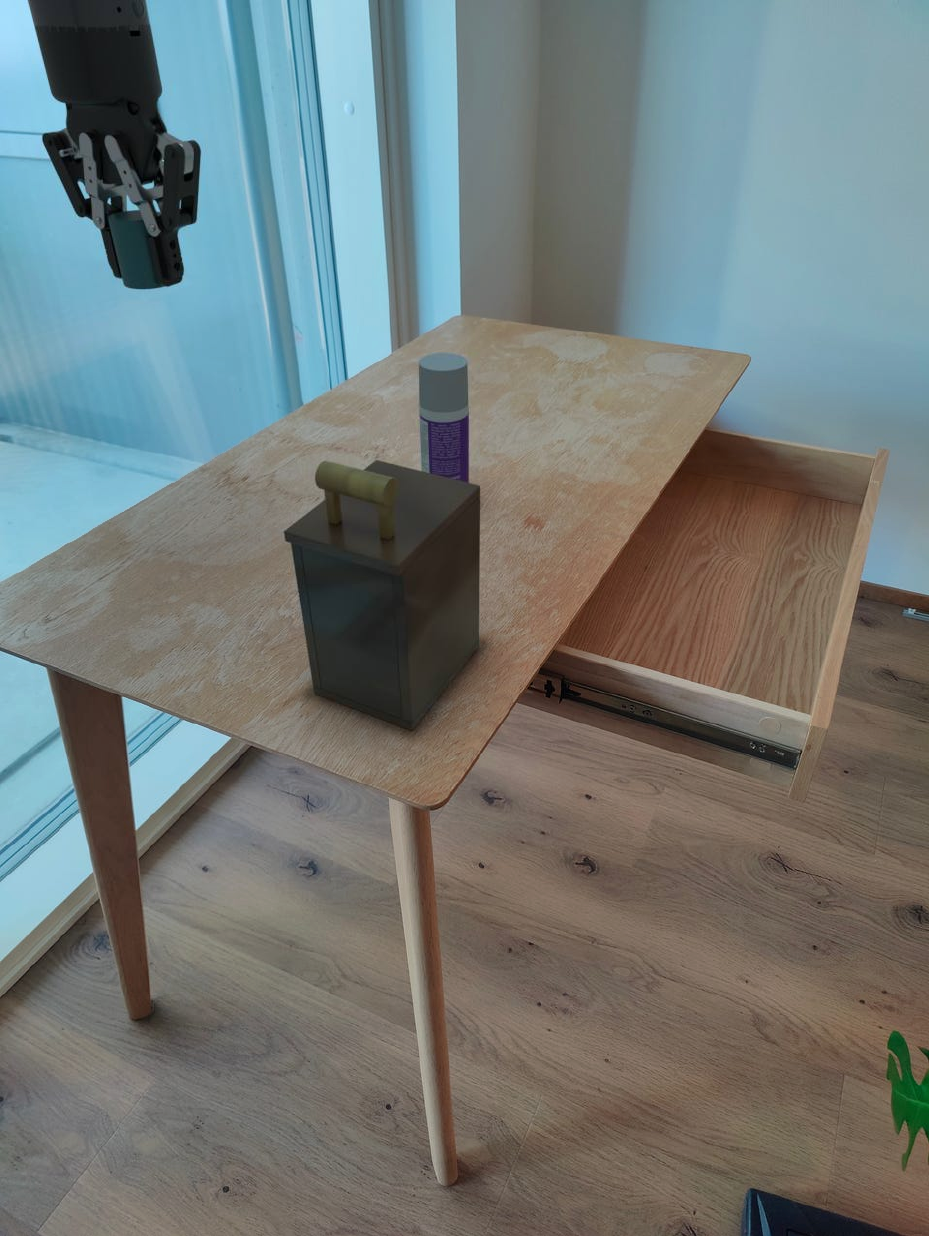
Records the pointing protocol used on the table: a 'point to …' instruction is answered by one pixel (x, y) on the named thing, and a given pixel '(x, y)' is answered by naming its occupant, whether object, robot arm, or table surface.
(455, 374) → the container
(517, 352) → the table surface
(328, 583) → the chest
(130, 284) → the teal cylinder
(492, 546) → the table surface
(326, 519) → the lid
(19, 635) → the table surface
